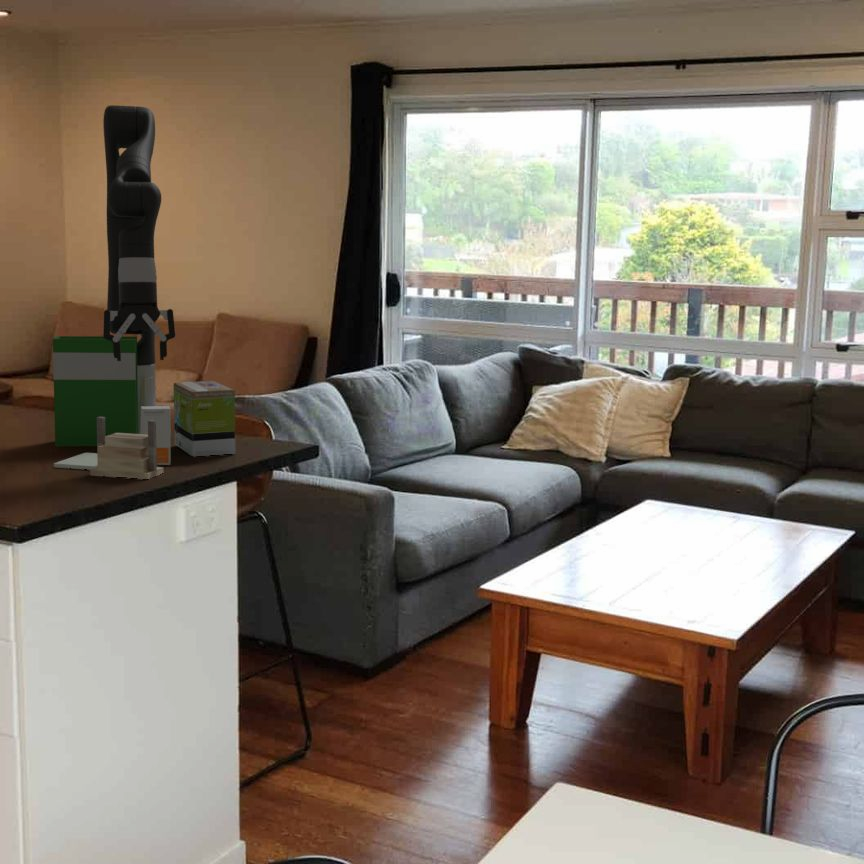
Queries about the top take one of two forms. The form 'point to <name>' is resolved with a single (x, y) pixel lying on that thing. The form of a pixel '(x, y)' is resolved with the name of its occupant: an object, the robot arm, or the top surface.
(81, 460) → the sage mat
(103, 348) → the hardback book
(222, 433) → the tea box
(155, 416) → the skincare box
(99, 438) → the offcut rack
